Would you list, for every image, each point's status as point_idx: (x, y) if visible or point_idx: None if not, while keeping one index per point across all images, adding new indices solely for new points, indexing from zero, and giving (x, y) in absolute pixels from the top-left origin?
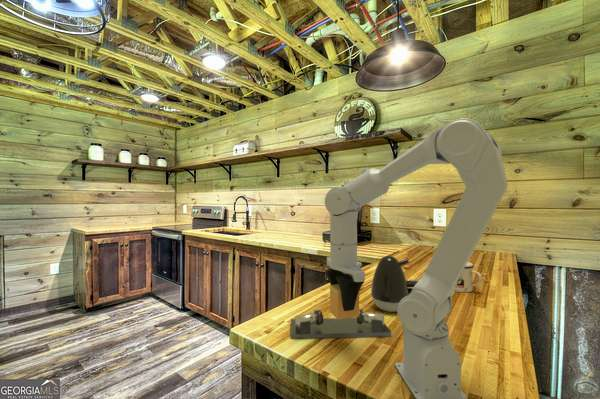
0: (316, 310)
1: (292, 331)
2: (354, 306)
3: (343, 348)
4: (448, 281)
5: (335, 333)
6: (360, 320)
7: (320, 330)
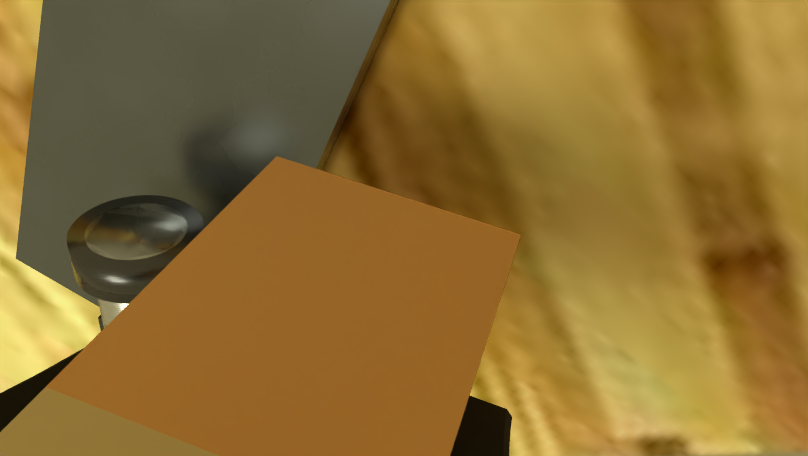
0: (83, 283)
1: None
2: (505, 441)
3: (505, 192)
4: None
5: (324, 151)
6: None
7: None
